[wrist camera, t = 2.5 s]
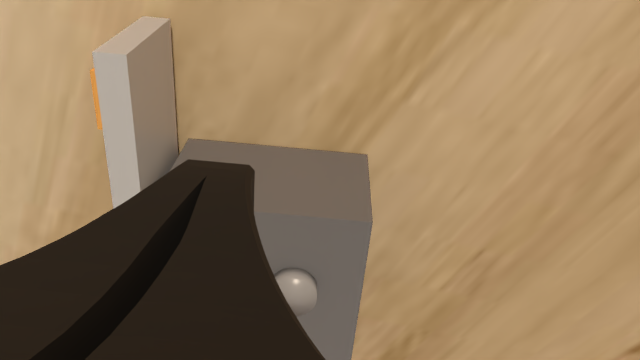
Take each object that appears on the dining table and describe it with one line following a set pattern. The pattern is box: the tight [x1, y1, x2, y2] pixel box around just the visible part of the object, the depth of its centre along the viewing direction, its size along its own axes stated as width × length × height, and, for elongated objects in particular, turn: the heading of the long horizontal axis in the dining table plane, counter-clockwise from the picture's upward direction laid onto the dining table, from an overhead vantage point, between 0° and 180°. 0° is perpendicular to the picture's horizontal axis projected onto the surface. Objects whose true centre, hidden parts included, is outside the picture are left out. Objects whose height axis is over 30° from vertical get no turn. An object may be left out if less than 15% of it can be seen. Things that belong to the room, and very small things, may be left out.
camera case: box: [169, 139, 373, 360], centre depth 19 cm, size 11×6×4 cm, turn 175°
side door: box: [90, 16, 178, 209], centre depth 18 cm, size 14×1×4 cm, turn 175°
